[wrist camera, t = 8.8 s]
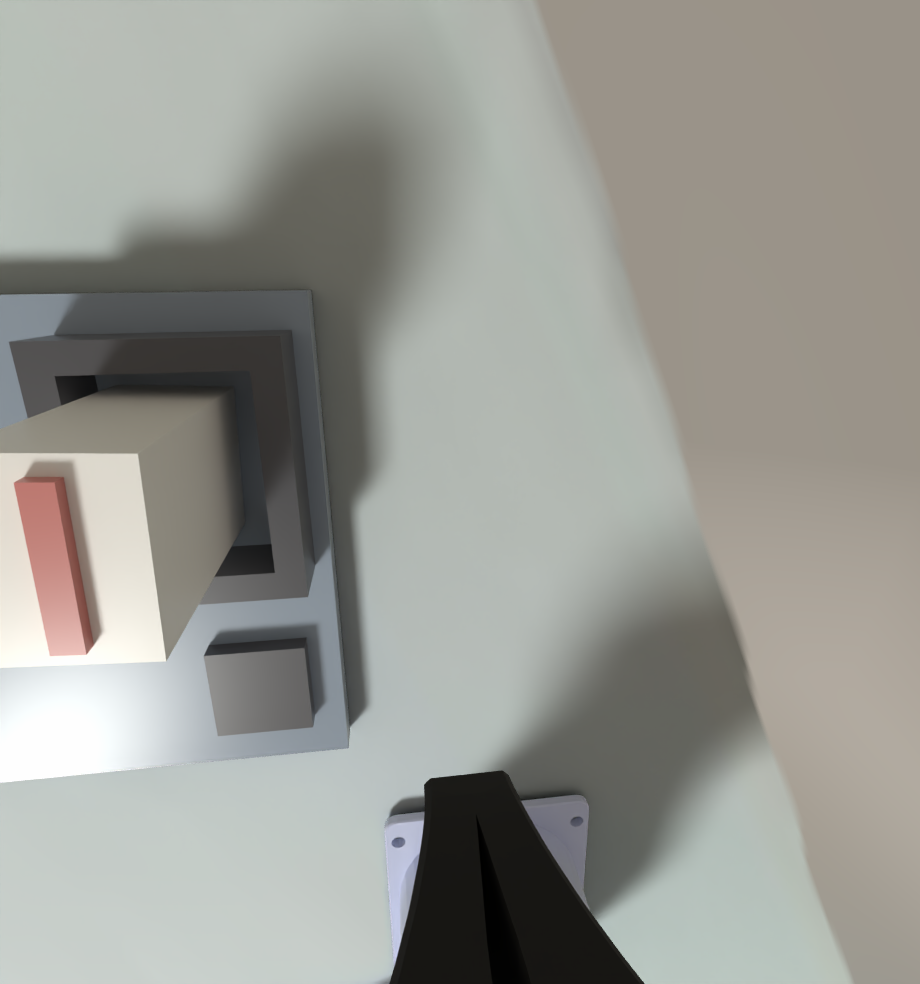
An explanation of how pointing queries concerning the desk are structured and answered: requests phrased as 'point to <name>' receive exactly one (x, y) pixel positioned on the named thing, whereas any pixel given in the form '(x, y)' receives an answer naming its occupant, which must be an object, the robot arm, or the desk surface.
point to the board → (213, 627)
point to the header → (270, 359)
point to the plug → (115, 522)
